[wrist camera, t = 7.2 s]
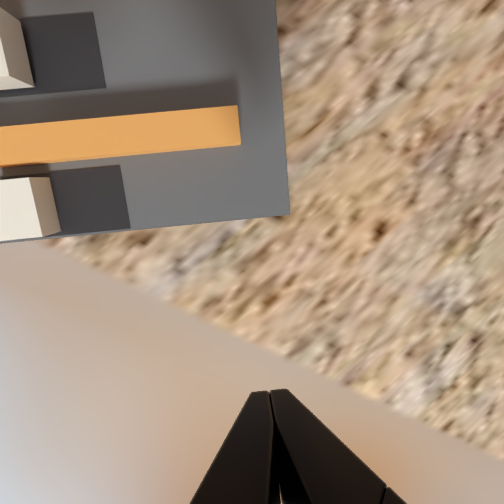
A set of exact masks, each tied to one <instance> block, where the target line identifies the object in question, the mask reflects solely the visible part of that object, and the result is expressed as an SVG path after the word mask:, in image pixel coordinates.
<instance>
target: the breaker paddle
mask: <svg viewBox="0 0 504 504" xmlns="http://www.w3.org/2000/svg"><path fill="white" fill-rule="evenodd" d="M29 87H34V83H33V78H32V74H31V69H30V64H29V60H28V55H27V51H26V46H25V41H24V37H23V32H22V28H21V23H20V21H19V20H17V19H16V18H15V17H13V16H12V15H10V14H9V13H8V12H6V11H5V10H3V9H2V8H1V7H0V90H6V89H18V88H29Z"/></svg>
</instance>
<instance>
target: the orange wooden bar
mask: <svg viewBox="0 0 504 504" xmlns="http://www.w3.org/2000/svg"><path fill="white" fill-rule="evenodd" d="M236 145H241V137H240V127H239V117H238V106H237V105H233V106H222V107H211V108H200V109H189V110H178V111H167V112H156V113H145V114H134V115H123V116H112V117H101V118H90V119H79V120H68V121H57V122H46V123H35V124H24V125H13V126H2V127H0V168H2V167H13V166H24V165H34V164H45V163H55V162H66V161H77V160H87V159H98V158H108V157H119V156H130V155H140V154H151V153H161V152H172V151H183V150H193V149H204V148H214V147H225V146H236Z"/></svg>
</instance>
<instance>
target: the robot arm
mask: <svg viewBox="0 0 504 504" xmlns="http://www.w3.org/2000/svg"><path fill="white" fill-rule="evenodd" d="M280 494H281V499H280ZM281 500H282V504H407V503H406V502H405V501H403V500H402V499H401V498H400V497H399V496H398V495H397V494H396V493H395V492H394V491H393V490H392V489H391V488H390V487H387V485H386V484H385V483H384V482H383V481H382V480H381V479H380V478H379V477H378V476H377V475H376V474H375V473H374V472H373V471H372V470H371V469H370V468H369V467H368V466H367V465H366V464H365V463H364V462H363V461H362V460H361V459H359V458H358V457H357V456H356V455H355V454H354V453H353V452H352V451H351V450H350V449H349V448H348V447H347V446H346V445H345V444H344V443H343V442H341V440H340V439H339V438H338V437H337V436H336V435H335V434H334V433H332V432H331V431H330V430H329V429H328V428H327V427H326V426H325V425H324V424H323V423H322V422H321V421H320V420H319V419H318V418H317V417H316V416H315V415H313V413H312V412H311V411H310V410H309V409H307V408H306V407H305V406H304V405H303V404H302V403H301V402H300V401H299V400H298V399H297V398H296V397H295V396H294V395H293V394H292V393H291V392H290V391H289V390H288V389H276V390H271V391H270V392H268V391H257V392H252V393H251V394H250V395H249V397H248V399H247V401H246V402H245V404H244V406H243V408H242V410H241V411H240V413H239V415H238V417H237V419H236V420H235V422H234V424H233V426H232V428H231V430H230V431H229V433H228V435H227V437H226V439H225V440H224V442H223V444H222V446H221V448H220V450H219V451H218V453H217V455H216V457H215V459H214V460H213V462H212V464H211V466H210V468H209V470H208V471H207V473H206V475H205V477H204V478H203V481H202V482H201V484H200V486H199V488H198V489H197V491H196V493H195V495H194V497H193V498H192V500H191V502H190V504H281Z"/></svg>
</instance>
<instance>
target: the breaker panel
mask: <svg viewBox="0 0 504 504" xmlns="http://www.w3.org/2000/svg"><path fill="white" fill-rule="evenodd" d="M0 7H1V8H2V9H3V10H5V11H6V12H8V13H9V14H10V15H12V16H13V17H15V18H16V19H17V20H19V21H20V23H21V28H22V32H23V37H24V41H25V46H26V51H27V55H28V60H29V64H30V69H31V74H32V78H33V83H34V87H29V88H18V89H6V90H0V127H2V126H13V125H24V124H35V123H46V122H57V121H68V120H79V119H90V118H101V117H112V116H123V115H134V114H145V113H156V112H167V111H178V110H189V109H200V108H211V107H222V106H233V105H237V106H238V117H239V127H240V137H241V145H236V146H225V147H214V148H204V149H193V150H183V151H172V152H161V153H151V154H140V155H130V156H119V157H108V158H98V159H87V160H77V161H66V162H55V163H45V164H34V165H24V166H13V167H2V168H0V243H10V242H21V241H31V240H41V239H51V238H61V237H71V236H81V235H91V234H101V233H111V232H121V231H131V230H141V229H151V228H161V227H171V226H181V225H191V224H201V223H211V222H221V221H231V220H241V219H251V218H261V217H271V216H281V215H290V204H289V189H288V175H287V160H286V146H285V132H284V117H283V103H282V89H281V74H280V60H279V45H278V31H277V17H276V2H275V0H0Z"/></svg>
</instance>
